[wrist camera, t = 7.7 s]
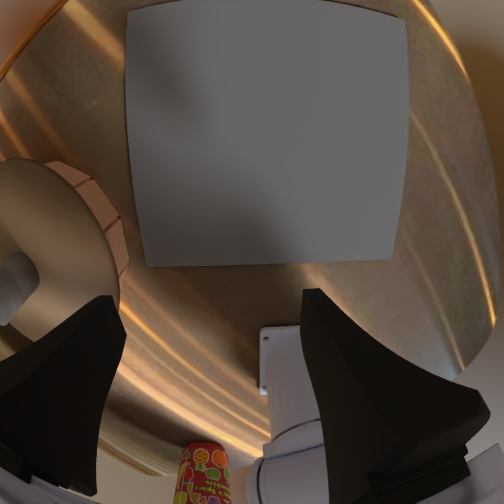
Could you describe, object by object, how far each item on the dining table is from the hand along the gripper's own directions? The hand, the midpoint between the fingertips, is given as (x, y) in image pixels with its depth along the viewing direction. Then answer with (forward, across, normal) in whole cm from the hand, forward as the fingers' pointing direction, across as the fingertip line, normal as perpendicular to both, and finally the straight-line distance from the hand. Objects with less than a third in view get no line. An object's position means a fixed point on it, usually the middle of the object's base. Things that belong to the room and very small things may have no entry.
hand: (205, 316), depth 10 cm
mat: (+9, -4, -6) cm, 12 cm away
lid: (+5, +14, 0) cm, 15 cm away
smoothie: (+10, +6, +35) cm, 37 cm away
